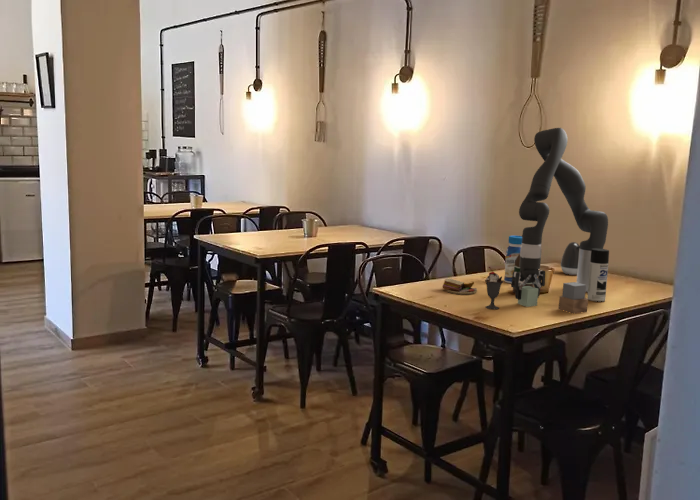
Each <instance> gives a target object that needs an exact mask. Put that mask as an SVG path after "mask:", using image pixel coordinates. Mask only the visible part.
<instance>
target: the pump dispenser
mask: <svg viewBox="0 0 700 500" xmlns="http://www.w3.org/2000/svg"><path fill="white" fill-rule="evenodd" d="M579 248H580V243H578V242H577V241H571V242H569V243H568V244H567V246H566V247H565V248H564V250H563V251H564V252H563V254H562V256H561V260H560V268H561V271H562V272H563V273H564V274H565V275H568V274H569V275H570V276H577V271H578V260H579ZM569 275H568V276H569Z"/></svg>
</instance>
